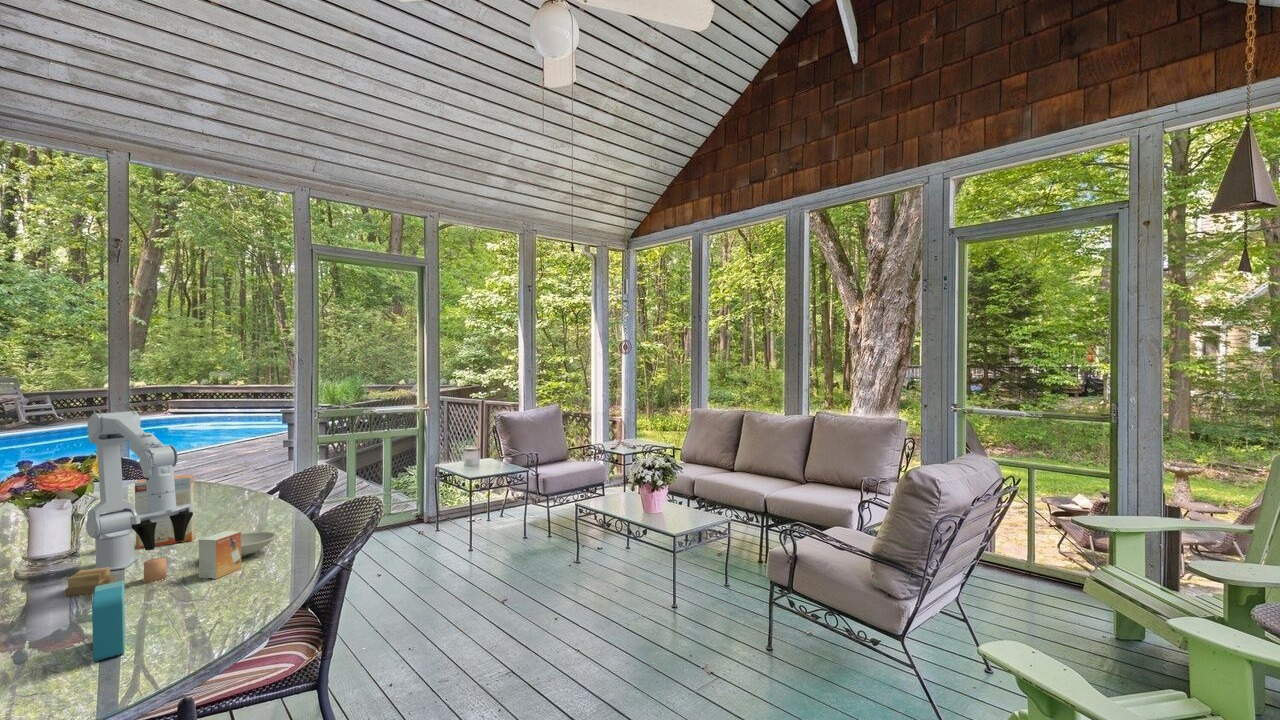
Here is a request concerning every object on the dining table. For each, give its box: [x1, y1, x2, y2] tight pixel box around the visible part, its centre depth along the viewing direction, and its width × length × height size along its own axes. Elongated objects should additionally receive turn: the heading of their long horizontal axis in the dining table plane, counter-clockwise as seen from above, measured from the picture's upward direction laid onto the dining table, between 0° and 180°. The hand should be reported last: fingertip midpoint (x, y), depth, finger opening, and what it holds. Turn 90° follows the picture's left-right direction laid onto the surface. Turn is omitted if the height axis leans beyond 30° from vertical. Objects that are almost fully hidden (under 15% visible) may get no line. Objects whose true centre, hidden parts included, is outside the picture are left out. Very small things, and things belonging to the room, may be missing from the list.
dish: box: [241, 531, 278, 558], centre depth 171 cm, size 18×14×5 cm
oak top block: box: [67, 567, 111, 588], centre depth 148 cm, size 6×6×2 cm
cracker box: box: [134, 474, 196, 550], centre depth 184 cm, size 14×6×21 cm, turn 121°
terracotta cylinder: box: [143, 557, 168, 584], centre depth 153 cm, size 5×5×5 cm
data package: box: [91, 580, 126, 662], centre depth 117 cm, size 12×4×12 cm, turn 41°
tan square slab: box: [65, 574, 116, 598], centre depth 148 cm, size 7×7×2 cm
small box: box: [198, 530, 242, 580], centre depth 157 cm, size 8×6×10 cm
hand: (165, 545), depth 150 cm, fingers open, 7 cm apart
